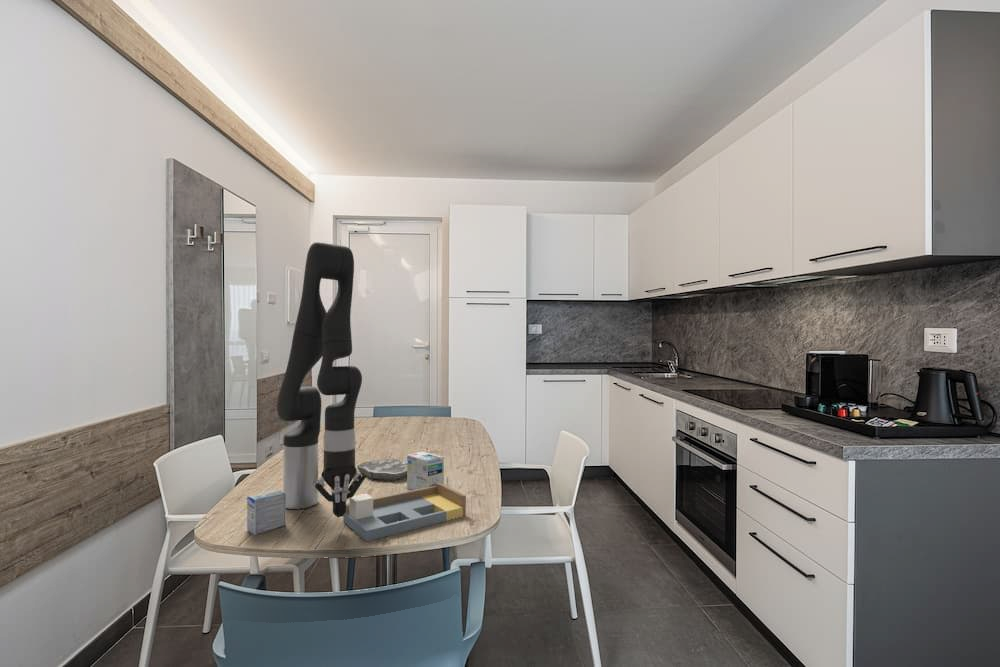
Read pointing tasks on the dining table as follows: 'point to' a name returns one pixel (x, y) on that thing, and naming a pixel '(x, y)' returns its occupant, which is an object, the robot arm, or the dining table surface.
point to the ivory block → (361, 506)
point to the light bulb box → (424, 470)
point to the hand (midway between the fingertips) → (339, 515)
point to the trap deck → (408, 511)
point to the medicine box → (266, 511)
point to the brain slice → (384, 469)
